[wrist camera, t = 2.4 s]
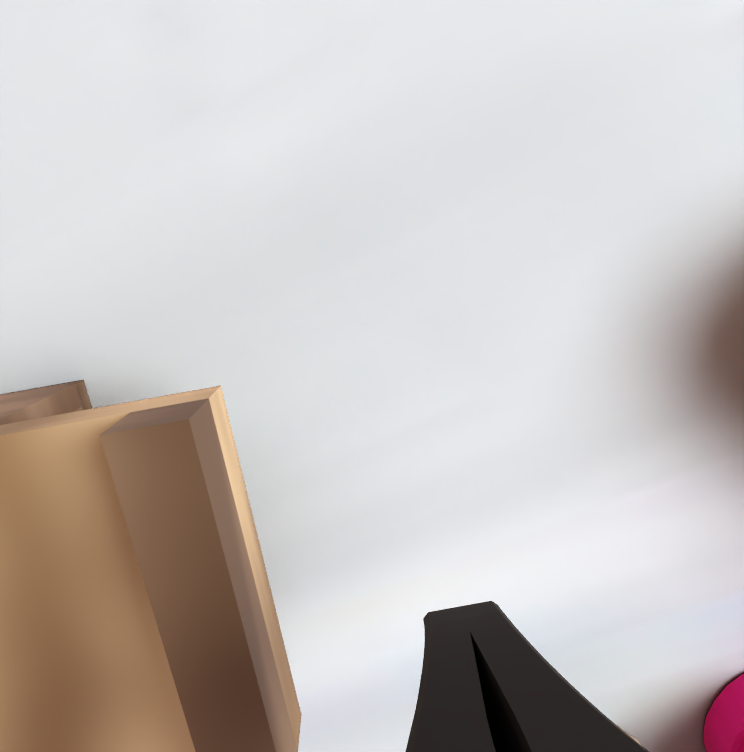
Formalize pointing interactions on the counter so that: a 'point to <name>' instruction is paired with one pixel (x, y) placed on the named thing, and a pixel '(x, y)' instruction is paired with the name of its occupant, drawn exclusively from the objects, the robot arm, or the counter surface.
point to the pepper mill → (726, 720)
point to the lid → (136, 587)
